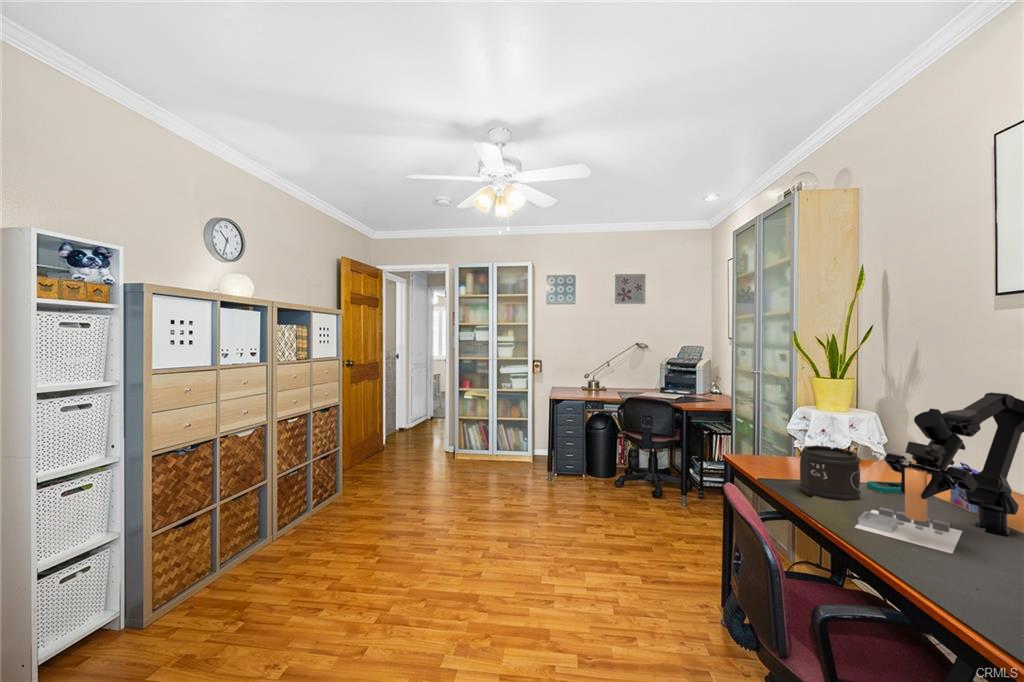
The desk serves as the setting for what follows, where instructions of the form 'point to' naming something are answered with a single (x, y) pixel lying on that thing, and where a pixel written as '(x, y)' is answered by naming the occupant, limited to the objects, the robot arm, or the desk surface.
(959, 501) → the ink cartridge box
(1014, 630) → the desk surface
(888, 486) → the digital multimeter
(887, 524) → the socket collar
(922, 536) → the breaker panel
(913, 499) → the plug
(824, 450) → the black drum container
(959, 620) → the desk surface
